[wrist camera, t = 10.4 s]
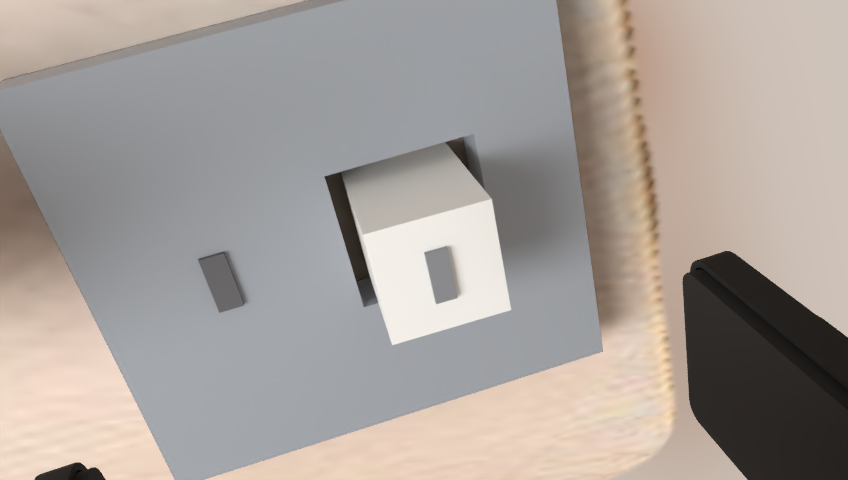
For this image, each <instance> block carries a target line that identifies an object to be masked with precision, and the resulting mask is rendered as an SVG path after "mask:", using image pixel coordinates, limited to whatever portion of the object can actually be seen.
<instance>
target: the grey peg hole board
mask: <svg viewBox="0 0 848 480" xmlns="http://www.w3.org/2000/svg"><path fill="white" fill-rule="evenodd" d="M0 131H1V133H2V135H3V137H4V139H5V141H6V143H7V145H8V147H9V149H10V151H11V153H12V155H13V157H14V159H15V161H16V163H17V165H18V167H19V169H20V171H21V173H22V175H23V177H24V179H25V181H26V183H27V185H28V187H29V189H30V191H31V193H32V195H33V197H34V199H35V201H36V203H37V205H38V207H39V209H40V211H41V213H42V215H43V217H44V219H45V221H46V223H47V225H48V227H49V229H50V231H51V233H52V235H53V237H54V239H55V241H56V243H57V245H58V247H59V249H60V251H61V253H62V255H63V257H64V259H65V261H66V263H67V265H68V267H69V269H70V271H71V273H72V275H73V277H74V279H75V281H76V283H77V285H78V287H79V289H80V291H81V293H82V295H83V297H84V299H85V301H86V303H87V305H88V307H89V309H90V311H91V313H92V315H93V317H94V319H95V321H96V323H97V325H98V327H99V329H100V331H101V333H102V335H103V337H104V339H105V341H106V343H107V345H108V347H109V349H110V351H111V353H112V355H113V357H114V359H115V361H116V363H117V365H118V367H119V369H120V371H121V373H122V375H123V377H124V379H125V381H126V383H127V385H128V387H129V389H130V391H131V393H132V395H133V397H134V399H135V401H136V403H137V405H138V407H139V409H140V411H141V413H142V415H143V417H144V419H145V421H146V423H147V425H148V427H149V429H150V431H151V433H152V435H153V437H154V439H155V441H156V443H157V445H158V447H159V449H160V451H161V453H162V455H163V457H164V459H165V461H166V463H167V465H168V467H169V469H170V471H171V473H172V475H173V477H174V479H175V480H204V479H207V478H210V477H214V476H217V475H220V474H223V473H226V472H229V471H232V470H235V469H238V468H242V467H245V466H248V465H251V464H254V463H257V462H260V461H263V460H266V459H270V458H273V457H276V456H279V455H282V454H285V453H288V452H291V451H294V450H298V449H301V448H304V447H307V446H310V445H313V444H316V443H319V442H323V441H326V440H329V439H332V438H335V437H338V436H341V435H344V434H347V433H351V432H354V431H357V430H360V429H363V428H366V427H369V426H372V425H375V424H379V423H382V422H385V421H388V420H391V419H394V418H397V417H400V416H403V415H407V414H410V413H413V412H416V411H419V410H422V409H425V408H428V407H431V406H435V405H438V404H441V403H444V402H447V401H450V400H453V399H456V398H459V397H463V396H466V395H469V394H472V393H475V392H478V391H481V390H484V389H487V388H491V387H494V386H497V385H500V384H503V383H506V382H509V381H512V380H516V379H519V378H522V377H525V376H528V375H531V374H534V373H537V372H540V371H544V370H547V369H550V368H553V367H556V366H559V365H562V364H565V363H568V362H572V361H575V360H578V359H581V358H584V357H587V356H590V355H593V354H596V353H600V352H603V347H602V340H601V332H600V325H599V317H598V310H597V302H596V294H595V287H594V279H593V272H592V264H591V257H590V249H589V242H588V234H587V227H586V219H585V211H584V204H583V196H582V189H581V181H580V174H579V166H578V159H577V151H576V144H575V136H574V129H573V121H572V113H571V106H570V98H569V91H568V83H567V76H566V68H565V61H564V53H563V46H562V38H561V30H560V23H559V15H558V8H557V0H308V1H304V2H300V3H296V4H292V5H289V6H285V7H281V8H277V9H273V10H269V11H266V12H262V13H258V14H254V15H250V16H246V17H243V18H239V19H235V20H231V21H227V22H223V23H220V24H216V25H212V26H208V27H204V28H200V29H197V30H193V31H189V32H185V33H181V34H178V35H174V36H170V37H166V38H162V39H158V40H155V41H151V42H147V43H143V44H139V45H135V46H132V47H128V48H124V49H120V50H116V51H112V52H109V53H105V54H101V55H97V56H93V57H89V58H86V59H82V60H78V61H74V62H70V63H66V64H63V65H59V66H55V67H51V68H47V69H43V70H40V71H36V72H32V73H28V74H24V75H20V76H17V77H13V78H9V79H5V80H3V81H1V82H0ZM461 137H463V142H464V147H465V152H466V157H467V162H468V167H469V172H470V173H471V174H472V175H473V177H474V178H475V179H476V180H477V182H478V183H479V184H480V185H481V186H482V188H483V189H484V190H485V191H486V192H487V194H488V195H489V196H490V197H491V199H492V203H493V209H494V215H495V220H496V226H497V232H498V237H499V243H500V249H501V254H502V260H503V266H504V272H505V277H506V283H507V289H508V294H509V300H510V306H511V310H510V311H506V312H503V313H500V314H496V315H493V316H490V317H486V318H483V319H479V320H476V321H473V322H469V323H466V324H462V325H459V326H456V327H452V328H449V329H446V330H442V331H439V332H435V333H432V334H429V335H425V336H422V337H419V338H415V339H412V340H408V341H405V342H402V343H398V344H395V345H392V343H391V340H390V337H389V334H388V331H387V328H386V325H385V321H384V318H383V315H382V312H381V309H380V306H379V303H378V300H377V297H376V294H375V291H374V288H373V285H372V281H371V278H370V277H369V278H366V279H362V280H359V281H356V278H355V275H354V272H353V268H352V265H351V262H350V258H349V255H348V252H347V248H346V245H345V242H344V238H343V235H342V232H341V228H340V225H339V222H338V219H337V215H336V212H335V209H334V205H333V202H332V199H331V195H330V192H329V189H328V185H327V182H326V179H325V176H328V175H331V174H335V173H338V172H342V171H345V170H349V169H352V168H356V167H359V166H363V165H366V164H370V163H373V162H377V161H380V160H384V159H387V158H391V157H394V156H398V155H401V154H405V153H408V152H412V151H415V150H419V149H422V148H426V147H429V146H433V145H436V144H440V143H443V142H447V141H450V140H454V139H457V138H461Z"/></svg>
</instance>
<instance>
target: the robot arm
mask: <svg viewBox="0 0 848 480" xmlns="http://www.w3.org/2000/svg"><path fill="white" fill-rule="evenodd" d="M683 296H684V313H685V331H686V349H687V365H688V383H689V400H690V405H691V408H692V411H693V413H694V415H695V417H696V419H697V420H698V422H699V423H700V424H701V426H702V427H703V428H704V429H705V430H706V431H707V433H708V434H709V435H710V436H711V437H712V438H713V440H714V441H715V442H716V443H717V444H718V445H719V447H720V448H721V449H722V450H723V451H724V452H725V454H726V455H727V456H728V457H729V458H730V460H731V461H732V462H733V463H734V464H735V465H736V467H737V468H738V469H739V470H740V471H741V472H742V473H743V475H744V476H745V477H746V478H747V479H748V480H848V337H846V336H845V335H844V334H842V333H841V332H840V331H838V330H837V329H836V328H834V327H833V326H832V325H830V324H829V323H828V322H826V321H825V320H824V319H822V318H821V317H819V316H817V315H815V314H814V313H813V312H811V311H810V310H809V309H807V308H806V307H804V306H803V305H802V304H801V303H799V302H798V301H797V300H795V299H794V298H793V297H791V296H790V295H789V294H787V293H786V292H785V291H783V290H782V289H781V288H779V287H778V286H777V285H776V284H774V283H773V282H771V281H770V280H769V279H768V278H766V277H765V276H764V275H762V274H761V273H760V272H758V271H757V270H756V269H754V268H753V267H752V266H750V265H749V264H748V263H746V262H745V261H744V260H742V259H741V258H740V257H738V256H737V255H736V254H734V253H732V252H730V251H725V252H722V253H718V254H715V255H712V256H710V257H706V258H703V259H700V260H697V261H695V262H693V263H692V266H691V270H690V273H686V274H685V275H684V277H683ZM35 480H105V478H104V477H103V475H102V473H101V472H100V471H99V469H97V468H90V469H87V468H86V467H85V466H84V465H83V464H81V463H73V464H70V465H67V466H64V467H61V468H58V469H55V470H52V471H49V472H46V473H43V474H40V475H38V476H37V477H36V478H35Z"/></svg>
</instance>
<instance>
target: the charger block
mask: <svg viewBox="0 0 848 480" xmlns="http://www.w3.org/2000/svg"><path fill="white" fill-rule="evenodd" d="M341 175H342V178H343V182H344V186H345V190H346V193H347V197H348V201H349V204H350V208H351V212H352V215H353V219H354V223H355V226H356V230H357V234H358V238H359V241H360V245H361V249H362V252H363V256H364V260H365V263H366V266H367V269H368V272H369V275H370V278H371V281H372V285H373V288H374V291H375V294H376V297H377V300H378V303H379V306H380V309H381V312H382V315H383V318H384V321H385V325H386V328H387V331H388V334H389V337H390V340H391V343H392V345H395V344H398V343H402V342H405V341H408V340H412V339H415V338H419V337H422V336H425V335H429V334H432V333H435V332H439V331H442V330H446V329H449V328H452V327H456V326H459V325H462V324H466V323H469V322H473V321H476V320H479V319H483V318H486V317H490V316H493V315H496V314H500V313H503V312H506V311H510V310H511V306H510V300H509V294H508V289H507V283H506V277H505V272H504V266H503V260H502V254H501V249H500V243H499V237H498V232H497V226H496V220H495V215H494V209H493V203H492V199H491V197H490V196H489V195H488V194H487V192H486V191H485V190H484V189H483V188H482V186H481V185H480V184H479V183H478V182H477V180H476V179H475V178H474V177H473V175H472V174H471V173H470V172H469V171H468V169H467V168H466V167H465V166H464V165H463V163H462V162H461V161H460V160H459V158H458V157H457V156H456V155H455V154H454V152H453V151H452V150H451V149H450V147H449V146H448V145H447V144H446V143H445V142H443V143H440V144H436V145H433V146H429V147H426V148H422V149H419V150H415V151H412V152H408V153H405V154H401V155H398V156H394V157H391V158H387V159H384V160H380V161H377V162H373V163H370V164H366V165H363V166H359V167H356V168H352V169H349V170H345V171H342V172H341Z"/></svg>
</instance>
